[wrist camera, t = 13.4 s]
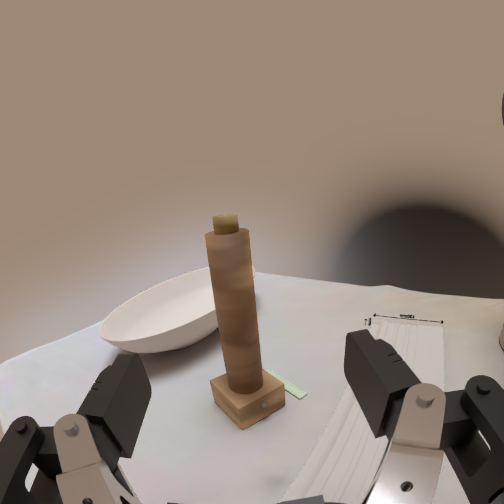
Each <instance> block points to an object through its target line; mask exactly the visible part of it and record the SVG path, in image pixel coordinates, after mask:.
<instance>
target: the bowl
mask: <svg viewBox="0 0 504 504" xmlns="http://www.w3.org/2000/svg"><path fill="white" fill-rule="evenodd" d="M252 271H253V278H254V275H255V269H254V267H253V266H252ZM217 328H218V322H217V315H216V309H215V303H214V296H213V290H212V283H211V276H210V269H209V267H205V268H202V269H198V270H194V271H191V272H188V273H185V274H182V275H180V276H177V277H174V278H172V279H169V280H167V281H164V282H162V283H160V284H157V285H155V286H153V287H151V288H149V289H147V290H145V291H143V292H141V293H140V294H138V295H136V296H134V297H132V298H131V299H129V300H127V301H126V302H125V303H123V304H122V305H120V306H119V307H117V308H116V309H115V310H113V311H112V312H111V313H110V314H109V315H108V316H107V317H106V318H105V319H104V320H103V322H102V323H101V325H100V327H99V335H100V336H101V337H102V338H103V339H104V340H105V341H107V342H108V343H110V344H112V345H114V346H116V347H118V348H121V349H123V350H126V351H130V352H135V353H156V352H163V351H168V350H177V349H181V348H184V347H187V346H190V345H192V344H194V343H196V342H198V341H200V340H202V339H203V338H205V337H207V336H208V335H210V334H211V333H212V332H213V331H215V330H216V329H217Z"/></svg>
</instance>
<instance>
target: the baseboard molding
mask: <svg viewBox="0 0 504 504" xmlns="http://www.w3.org/2000/svg"><path fill="white" fill-rule="evenodd" d="M373 316H374V317H375V316H378V315H376V313H375V314H374V315H373ZM402 316H404V317H405V318H407V315H400V317H402ZM408 316H409V317H410V318H414V315H413V317H411V316H412V315H408ZM383 317H387V316H383ZM409 317H408V318H409ZM392 318H396V317H392ZM405 318H401V319H405ZM365 320H367V319H365ZM411 320H415V319H411ZM370 321H371V318H369V322H370ZM421 321H426V320H421ZM432 322H437V321H432ZM442 323H443V321H442V322H441V324H442ZM365 325H366V323H365ZM370 325H371V322H370ZM369 332H370V334H371V335H372V336H373V337H374V339H375V340H377V339H382V340H384V341H385V342H387V343H389V344H391V345H392V347H393V348H394V349H395V350H396V351H397V354H399V355H400V356H401V357H402V359H403V361H405V362H406V364H407V365H408V366H409V367H410V369H411V370H412V371H413V372H414V374H415V375H416V376H417V377H418V379H419V380H420V381H421V382H422V383H429V384H433V385H436V386H438V387H439V388H440V389H442V390H443V392H444V344H443V329H442V327H437V326H426V325H411V324H400V323H391V322H387V321H382V322H381V323H379V324H374V323H372V326H371V329H370V331H369ZM387 443H388V439H387V437H386V435H385V436H382V437H379V438H376V439H375V436H374V434H373V432H372V430H371V428H370V426H369V424H368V422H367V420H366V418H365V416H364V414H363V412H362V410H361V407H360V405H359V403H358V401H357V399H356V397H355V395H354V393H353V391H352V389H351V387H350V385H349V383H348V384H347V386H346V389H345V391H344V393H343V395H342V397H341V399H340V401H339V403H338V405H337V407H336V409H335V411H334V413H333V415H332V417H331V419H330V421H329V423H328V425H327V426H326V428H325V430H324V432H323V434H322V435H321V437H320V439H319V441H318V443H317V444H316V446H315V448H314V449H313V451H312V453H311V454H310V456H309V458H308V459H307V461H306V463H305V464H304V466H303V467H302V469H301V470H300V472H299V474H298V475H297V477H296V478H295V480H294V481H293V483H292V484H291V486H290V487H289V488H288V490H287V491H286V493H285V494H284V496H283V497H282V498H281V500H280V501H279V502H278V503H280V502H283V501H289V500H296V499H302V498H308V497H313V496H318V495H323V498H324V502H337V503H345V504H361V502H362V500H363V498H364V496H365V494H366V493H367V491H368V489H369V487H370V485H371V482H372V480H373V478H374V476H375V473H376V471H377V469H378V466H379V464H380V461H381V459H382V456H383V454H384V451H385V448H386V446H387Z"/></svg>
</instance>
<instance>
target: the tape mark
mask: <svg viewBox="0 0 504 504" xmlns="http://www.w3.org/2000/svg"><path fill="white" fill-rule="evenodd" d="M267 372H268V373H270V374H271V375H272V376H274V377H275V378H277V379H278V380H280V381H281V382H283V383H284V388H285V390H286V391H288V392H289V393H291V394H292V395H294V396H295V397H297V398H298V399H302V398H303V397H305V396H306V395H307V393H305V392H304V391H302V390H300V389H299V388H297V387H296V386H294V385H293V384H291V383H290V382H288V381H287V380H285V379H284V378H282V377H281V376H279V375H278V374H276V373H275V372H273V371H272V370H270V369H269V370H267Z"/></svg>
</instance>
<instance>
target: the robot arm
mask: <svg viewBox="0 0 504 504" xmlns="http://www.w3.org/2000/svg"><path fill="white" fill-rule="evenodd" d="M502 118H503V125H504V95H503V100H502ZM499 339H500V344H501V346H502V348H503V349H504V324H503V328H502V331H501V335H500V338H499ZM344 372H345V376H346V379H347V381H348V383H349V385H350V387H351V389H352V391H353V393H354V395H355V397H356V399H357V401H358V403H359V405H360V407H361V410H362V412H363V414H364V416H365V418H366V420H367V422H368V424H369V426H370V428H371V430H372V432H373V434H374V436H375V439H376V438H379V437H382V436H385V435H386V437H387V439H388V443H387V446H386V448H385V451H384V454H383V456H382V459H381V461H380V464H379V466H378V469H377V471H376V473H375V476H374V478H373V480H372V482H371V485H370V487H369V489H368V491H367V493H366V494H365V496H364V498H363V500H362V502H361V504H432V500H433V497H434V493H435V490H436V486H437V482H438V478H439V474H440V470H441V465H442V460H443V454H444V452H445V454H446V456H447V458H448V460H449V462H450V463H451V465H452V467H453V469H454V471H455V473H456V475H457V477H458V479H459V481H460V483H461V485H462V487H463V489H464V491H465V493H466V495H467V498H468V500H469V502H470V504H504V390H503V389H502V387H501V386H500V385H499V384H498V383H497V382H496V381H495V380H494V379H492V378H491V377H488V376H484V375H478V376H475V377H472V378H471V379H470V380H469V381H468V382H467V384H466V386H465V389H464V390H458V391H452V392H443V390H442V389H440V388H439V387H438V386H436V385H433V384H429V383H422V382H421V381H420V380H419V379H418V377H417V376H416V375H415V374H414V372H413V371H412V370H411V369H410V367H409V366H408V365H407V364H406V362H405V361H403V359H402V357H401V356H400V355H399V354H397V351H396V350H395V349H394V348H393V347H392V345H391V344H389V343H387V342H385V341H384V340H382V339H377V340H375V339H374V337H373V336H372V335H371V334H370V332H369V331H368V330H367V329H364V330H360V331H355V332H350V333H347V336H346V346H345V358H344ZM150 398H151V385H150V382H149V379H148V377H147V374H146V372H145V369H144V366H143V364H142V361H141V359H140V357H139V355H138V354H119V355H118V356H117V358H116V359H115V361H114V363H113V364H112V366H110V365H109V366H108V367H107V368H106V369H104V370H103V371H102V372H101V373H100V374H99V376H98V378H97V379H96V381H95V383H94V384H93V386H92V388H91V390H90V391H89V393H88V394H87V396H86V398H85V399H84V401H83V403H82V405H81V406H80V408H79V410H78V412H77V413H76V414H69V415H66V416H63V417H62V418H60V419H59V420H58V421H57V422H56V424H55V426H53V427H39V425H38V424H37V423H36V421H35V420H34V419H33V418H32V417H29V416H22V417H19V418H17V419H16V420H15V421H13V422H12V424H11V425H10V427H9V428H8V430H7V432H6V433H5V435H4V437H3V438H2V440H1V442H0V504H142V503H141V502H140V501H139V499H138V497H137V496H136V494H135V492H134V491H133V489H132V487H131V485H130V483H129V482H128V480H127V478H126V476H125V474H124V472H123V470H122V468H121V466H120V465H119V464H118V460H119V457H124V458H131V457H132V454H133V450H134V447H135V444H136V441H137V438H138V434H139V431H140V428H141V425H142V422H143V419H144V416H145V413H146V410H147V407H148V404H149V401H150ZM479 430H480V432H481V433H482V435H483V436H484V438H485V439H486V441H487V442H488V444H489V445H490V449H491V451H490V449H489V448H488V446H487V445H486V443H485V442H484V440H483V439H482V437H481V436H480V434H479V433H478V431H479ZM32 463H34V465H35V466H36V467H37V468H38V469H39V470H38V472H37V475H36V477H35V480H34V482H33V485H32V487H31V490H30V492H28V491H27V489H26V487H25V479H26V476H27V474H28V472H29V469H30V467H31V465H32ZM167 504H177V503H168V502H167ZM277 504H345V503H337V502H324V498H323V495H318V496H313V497H308V498H302V499H296V500H289V501H283V502H280V503H277Z"/></svg>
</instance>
